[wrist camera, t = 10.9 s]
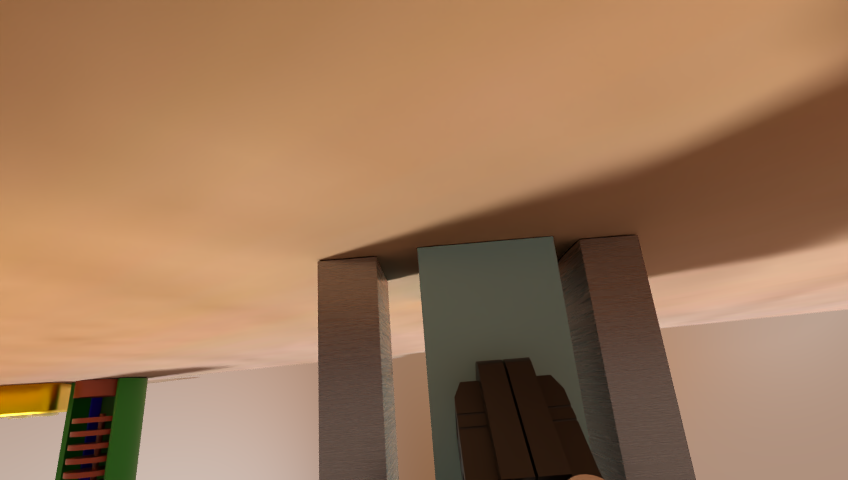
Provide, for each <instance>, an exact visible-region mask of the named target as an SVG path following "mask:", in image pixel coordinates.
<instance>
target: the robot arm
mask: <svg viewBox="0 0 848 480" xmlns="http://www.w3.org/2000/svg"><path fill="white" fill-rule="evenodd" d="M475 368H476V381H467V382H460V383H459V386H458V389H457V391H456V394H455V397H454V400H455V418H456V436H457V444H458V452H459V460H460V467H461V476H462V480H605V479H603V477H602V475H601V473H600V471H599V469H598V467H597V464H596V462H595V460H594V457H593V455H592V453H591V450H590V448H589V446H588V443H587V441H586V439H585V436H584V434H583V432H582V429H581V427H580V425H579V422H578V421H577V417H576V415H575V413H574V410H573V408H571V403H570V401H569V399H568V396H567V394H566V392H565V389H564V388H563V387H562V386H561V385H560V384H559V383H558V382H557V381H556V380H555V379H554V378H553V377H552V376H551V375H541V376H536V373H535V370H534V368H533V365H532V362H531V360H530V358H529V357H525V358H513V359H503V361H502V360H501V359H499V360H487V361H476V364H475Z"/></svg>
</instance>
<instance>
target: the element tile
mask: <svg viewBox="0 0 848 480" xmlns="http://www.w3.org/2000/svg"><path fill="white" fill-rule="evenodd" d="M70 391H71V384H65V383H44V384H27V385H10V386H0V418H5V417H6V418H8V419H17V418H29V417H31V414H32V417H41V416H53V415H58V412H67V408H68V403H69V397H70Z"/></svg>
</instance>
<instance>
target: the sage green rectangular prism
mask: <svg viewBox="0 0 848 480" xmlns="http://www.w3.org/2000/svg"><path fill="white" fill-rule="evenodd" d="M417 252H418V264H419V277H420V289H421V302H422V314H423V327H424V339H425V352H426V364H427V376H428V389H429V401H430V413H431V427H432V439H433V452H434V464H435V477H436V480H462V476H461V467H460V460H459V452H458V444H457V436H456V418H455V400H454V397H455V394H456V391H457V389H458V386H459V383H460V382H467V381H476V368H475V364H476V361H487V360H499V359H501V360H502V361H503V359H513V358H525V357H529V358H530V360H531V362H532V365H533V368H534V370H535V373H536V376H541V375H551V376H552V377H553V378H554V379H555V380H556V381H557V382H558V383H559V384H560V385H561V386H562V387H563V388H564V389H565V392H566V394H567V396H568V399H569V401H570V403H571V408H573V410H574V413H575V415H576V417H577V421H578V422H579V425H580V427H581V429H582V432H583V434H584V436H585V439H586V441H587V443H588V446H589V448H590V450H591V447H590V441H589V436H588V430H587V425H586V419H585V413H584V408H583V402H582V397H581V391H580V385H579V380H578V374H577V369H576V363H575V357H574V352H573V346H572V341H571V335H570V329H569V324H568V318H567V313H566V307H565V301H564V296H563V290H562V285H561V279H560V273H559V268H558V262H557V257H556V251H555V245H554V240H553V236H552V237H540V238H528V239H516V240H505V241H493V242H481V243H470V244H458V245H446V246H434V247H423V248H417Z"/></svg>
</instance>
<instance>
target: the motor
mask: <svg viewBox="0 0 848 480" xmlns="http://www.w3.org/2000/svg"><path fill="white" fill-rule="evenodd" d="M147 381H148V379H147V378H118V379H96V380H83V381H76V383H72V385H71V391H70V397H69V403H68V408H67V414H66V420H65V426H64V432H63V438H62V443H61V450H60V455H59V461H58V467H57V473H56V479H55V480H136V472H137V464H138V455H139V447H140V439H141V438H140V437H141V430H142V422H143V414H144V405H145V397H146V388H147Z"/></svg>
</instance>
